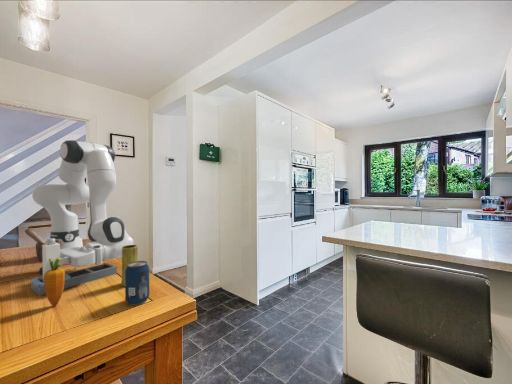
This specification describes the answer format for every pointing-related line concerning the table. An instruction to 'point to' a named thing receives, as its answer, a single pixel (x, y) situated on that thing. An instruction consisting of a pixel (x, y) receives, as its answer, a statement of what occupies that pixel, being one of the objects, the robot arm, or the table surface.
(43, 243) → the mortar and pestle
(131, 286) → the soda can
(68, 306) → the table surface
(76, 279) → the ladder grid frame
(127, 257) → the vase
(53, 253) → the capped white pillar
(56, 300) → the carrot
